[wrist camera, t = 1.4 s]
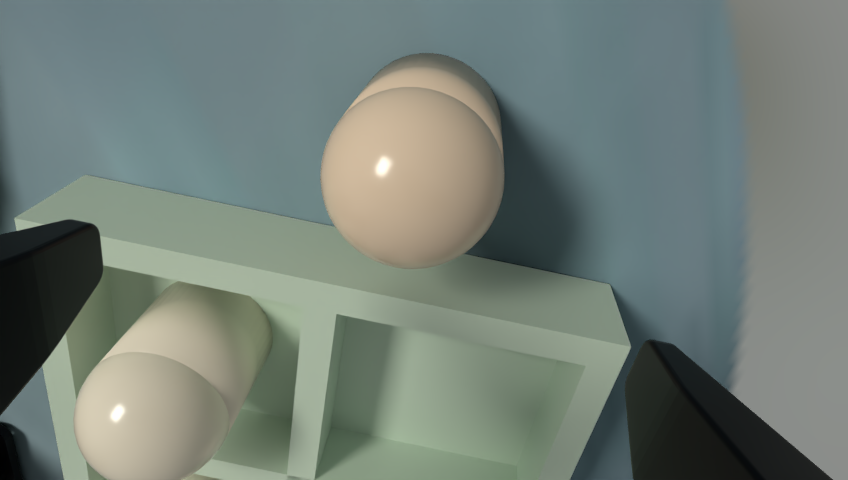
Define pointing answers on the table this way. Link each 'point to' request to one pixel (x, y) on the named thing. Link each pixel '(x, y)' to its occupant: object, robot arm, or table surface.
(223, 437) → the egg
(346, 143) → the brown egg
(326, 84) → the table surface
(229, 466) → the egg tray
